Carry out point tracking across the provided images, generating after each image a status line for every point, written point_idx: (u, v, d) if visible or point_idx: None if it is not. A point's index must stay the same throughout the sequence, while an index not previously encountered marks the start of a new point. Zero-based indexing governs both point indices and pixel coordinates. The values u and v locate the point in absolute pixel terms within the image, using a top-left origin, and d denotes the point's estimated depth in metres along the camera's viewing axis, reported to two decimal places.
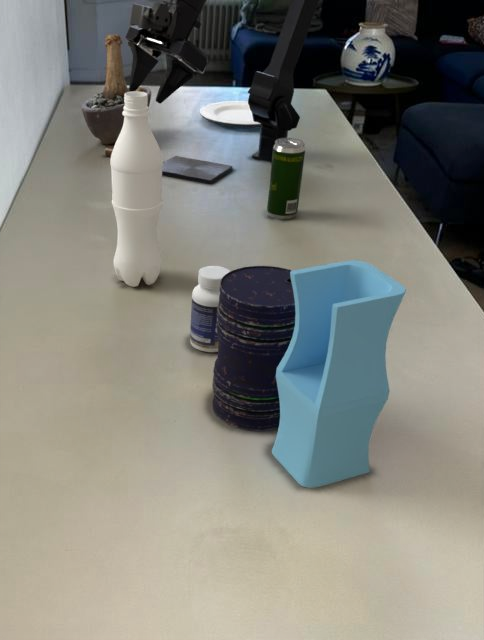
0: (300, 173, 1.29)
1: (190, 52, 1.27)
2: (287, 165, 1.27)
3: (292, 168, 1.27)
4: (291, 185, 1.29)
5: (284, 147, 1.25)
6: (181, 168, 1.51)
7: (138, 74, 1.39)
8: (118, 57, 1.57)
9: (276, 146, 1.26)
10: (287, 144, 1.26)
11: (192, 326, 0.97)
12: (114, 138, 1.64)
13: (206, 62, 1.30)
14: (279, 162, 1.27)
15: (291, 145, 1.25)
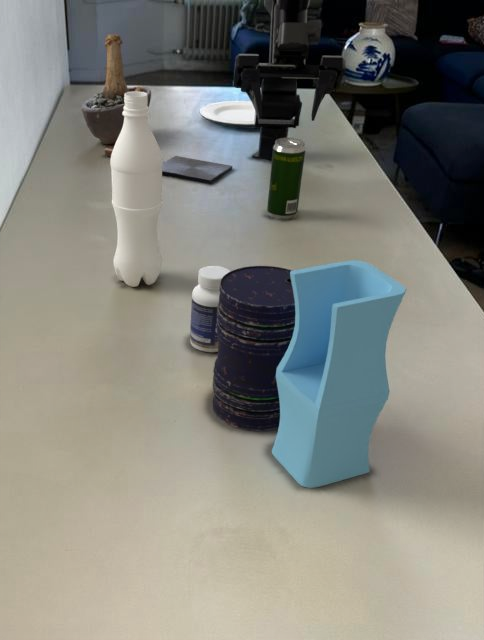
0: (300, 173, 1.29)
1: None
2: (287, 165, 1.27)
3: (292, 168, 1.27)
4: (291, 185, 1.29)
5: (284, 147, 1.25)
6: (181, 168, 1.51)
7: None
8: (118, 57, 1.57)
9: (276, 146, 1.26)
10: (287, 144, 1.26)
11: (192, 326, 0.97)
12: (114, 138, 1.64)
13: None
14: (279, 162, 1.27)
15: (291, 145, 1.25)
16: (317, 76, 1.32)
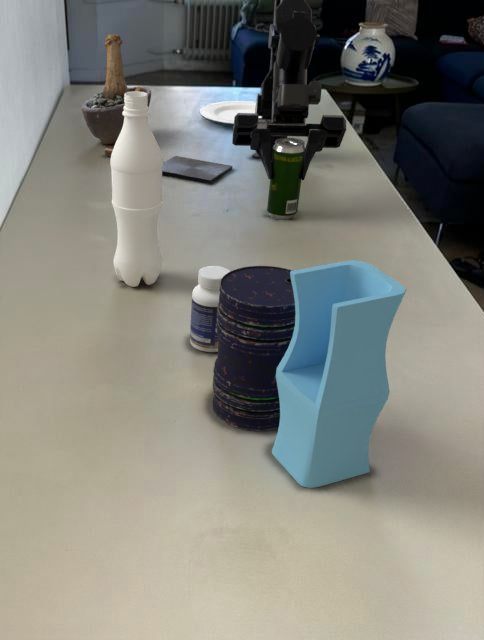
0: (300, 173, 1.28)
1: None
2: (287, 165, 1.27)
3: (292, 168, 1.27)
4: (291, 185, 1.29)
5: (284, 147, 1.25)
6: (181, 168, 1.51)
7: None
8: (118, 57, 1.57)
9: (276, 146, 1.26)
10: (287, 144, 1.26)
11: (192, 326, 0.97)
12: (114, 138, 1.64)
13: None
14: (279, 162, 1.27)
15: (291, 145, 1.25)
16: (307, 135, 1.30)
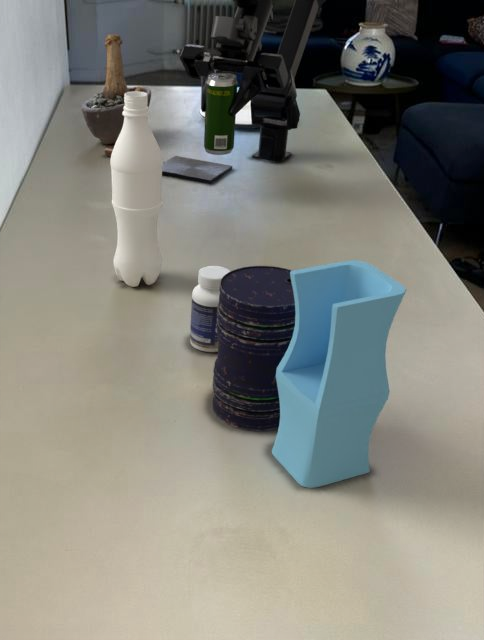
0: (228, 109, 1.30)
1: (282, 66, 1.27)
2: (213, 98, 1.30)
3: (218, 102, 1.30)
4: (218, 119, 1.31)
5: (211, 79, 1.28)
6: (181, 168, 1.51)
7: None
8: (118, 57, 1.57)
9: (208, 78, 1.30)
10: (216, 77, 1.28)
11: (192, 326, 0.97)
12: (114, 138, 1.64)
13: (286, 78, 1.31)
14: (207, 95, 1.30)
15: (217, 78, 1.28)
16: None
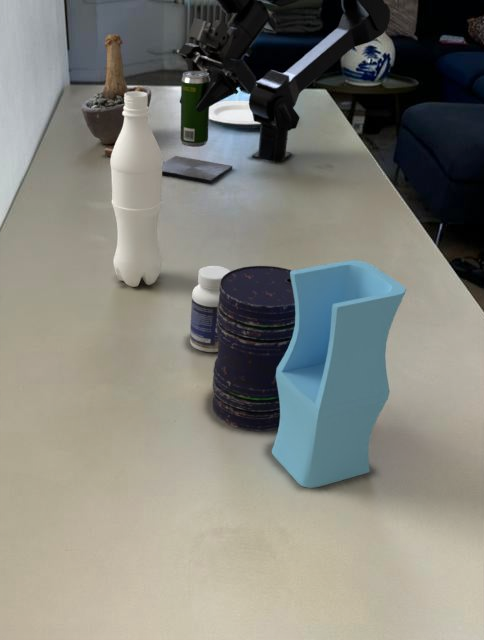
0: (195, 104, 1.42)
1: (242, 70, 1.35)
2: (182, 93, 1.42)
3: (185, 97, 1.41)
4: (186, 113, 1.43)
5: (183, 75, 1.41)
6: (181, 168, 1.51)
7: None
8: (118, 57, 1.57)
9: (185, 75, 1.42)
10: (188, 74, 1.40)
11: (192, 326, 0.97)
12: (114, 138, 1.64)
13: (254, 84, 1.38)
14: (181, 89, 1.43)
15: (187, 75, 1.40)
16: None
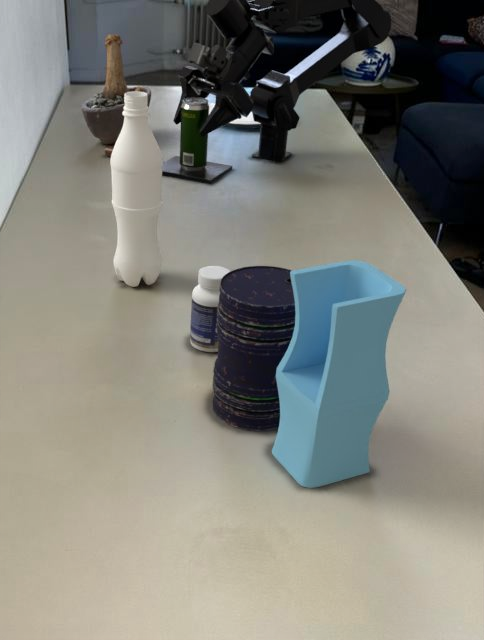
0: (194, 130, 1.45)
1: (240, 94, 1.37)
2: (182, 119, 1.45)
3: (185, 123, 1.44)
4: (185, 138, 1.46)
5: None
6: (181, 168, 1.51)
7: None
8: (118, 57, 1.57)
9: (185, 101, 1.45)
10: (187, 101, 1.43)
11: (192, 326, 0.97)
12: (114, 138, 1.64)
13: (252, 107, 1.40)
14: None
15: (187, 102, 1.43)
16: None
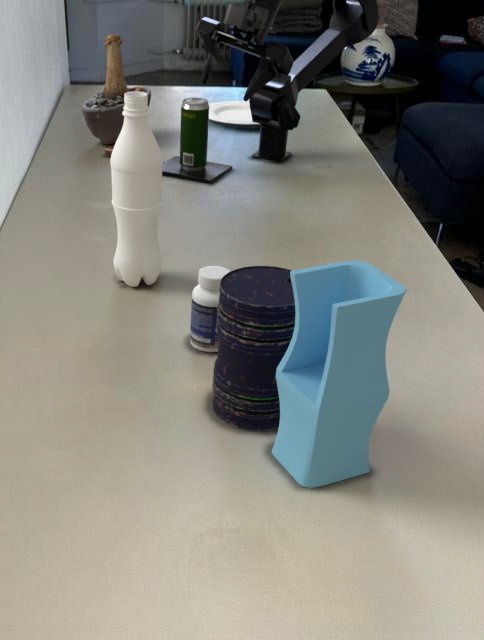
0: (194, 130, 1.45)
1: (287, 57, 1.36)
2: (182, 119, 1.45)
3: (185, 123, 1.44)
4: (185, 138, 1.46)
5: None
6: (181, 168, 1.51)
7: (210, 67, 1.43)
8: (118, 57, 1.57)
9: (185, 101, 1.45)
10: (187, 101, 1.43)
11: (192, 326, 0.97)
12: (114, 138, 1.64)
13: (291, 65, 1.40)
14: None
15: (187, 102, 1.43)
16: None
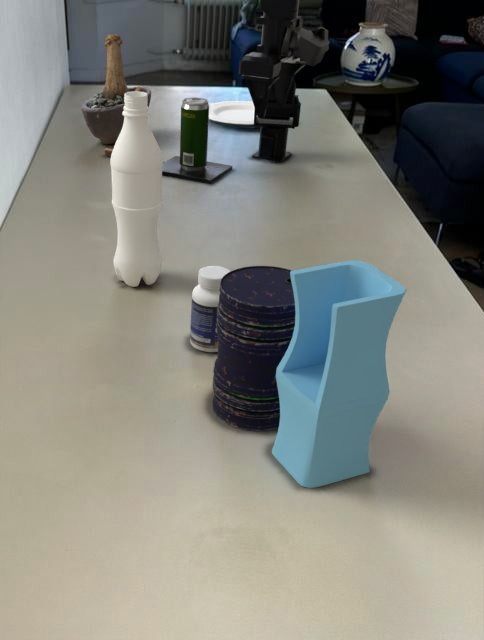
0: (194, 130, 1.45)
1: None
2: (182, 119, 1.45)
3: (185, 123, 1.44)
4: (185, 138, 1.46)
5: None
6: (181, 168, 1.51)
7: None
8: (118, 57, 1.57)
9: (185, 101, 1.45)
10: (187, 101, 1.43)
11: (192, 326, 0.97)
12: (114, 138, 1.64)
13: None
14: None
15: (187, 102, 1.43)
16: None
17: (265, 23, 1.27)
